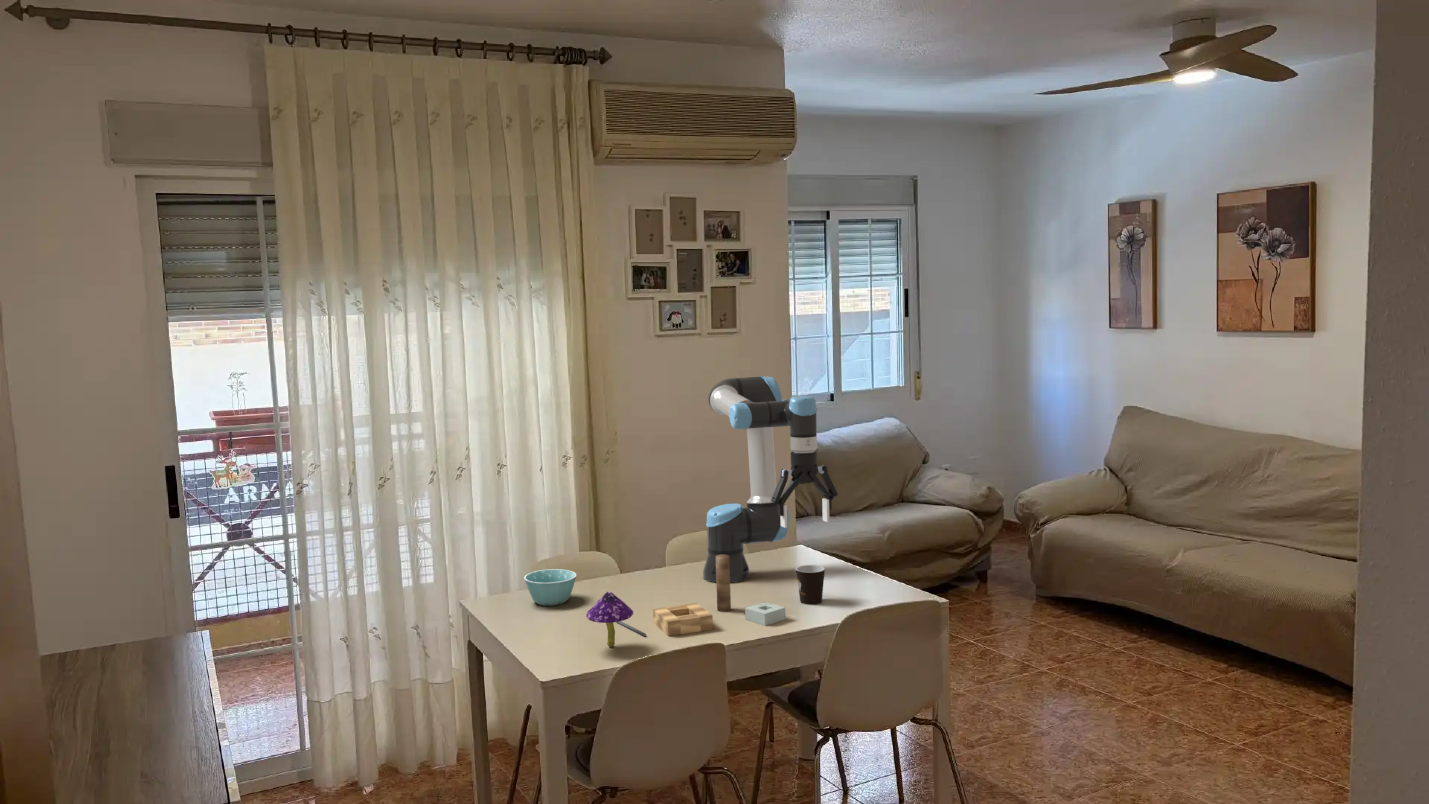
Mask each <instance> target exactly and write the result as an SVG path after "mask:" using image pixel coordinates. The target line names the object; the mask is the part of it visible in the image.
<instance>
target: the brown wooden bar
mask: <svg viewBox="0 0 1429 804" xmlns="http://www.w3.org/2000/svg"><path fill="white" fill-rule="evenodd" d="M715 584H716V610H717V612H723V613H725V612H730V611H731V610H732V608H731V607H732V602H731V599H732V598H731V582H730V564H729V555H717V556H716V582H715Z"/></svg>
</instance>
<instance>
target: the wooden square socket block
mask: <svg viewBox="0 0 1429 804" xmlns="http://www.w3.org/2000/svg"><path fill="white" fill-rule="evenodd" d="M652 616H653V617H652V618H653V624H654V625H655V626H656V627H658V628H659V629H660V630H661V631H662V632H663V633H664V634H665V635H667V636H668V637H672V636H678V635H684V634H691V633H697V632H698V633H699V632H704V631H710V630H713V629H714V623H713V622H714V621H713V620H714V619H713V614H711V613H710V612H709V611H707V610H706V609H705V608H704V607H703V606H701V605H699V604H698V603H697V602H694V603H693V602H692V603H687V604H679V605H673V606H667V607H659V608H653V609H652Z"/></svg>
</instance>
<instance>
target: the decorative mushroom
mask: <svg viewBox="0 0 1429 804" xmlns="http://www.w3.org/2000/svg"><path fill="white" fill-rule="evenodd" d="M585 615H586V616H585V617H586V618H587V619H588V620H589V621H591V622H593V623H599V624H600V623H601V624H605V625H606V629H607V646H608V647H610V648H612V647H614V646H615V645H616V644H615V641H616V629H615V624H614V623H617V622H619V621H622V622H623V621H626V620H629V619H630V618H631V617H632V616H633V615H634V611H633V609H632V608H631V607H630V606H628V605H627V604H626V602H624V601H623V600H622V599H621V598H619V597H618V596H616V595H615V593H613V592H612V591H606V592H605V593H604V594H603V595H602V597H600V598H599V599H598V600H597V601H595V603H594V604H593V606H591V608H590V609H589V610H588V611H587V613H586V614H585Z"/></svg>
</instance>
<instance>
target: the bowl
mask: <svg viewBox="0 0 1429 804" xmlns="http://www.w3.org/2000/svg"><path fill="white" fill-rule="evenodd" d="M577 575H578V574H577V573H576V572H575V571H573V570H568V569H562V568H561V569H560V568H555V569H554V568H552V569H550V568H548V569H542V570H535V571H532V572H529V573H527V574H526V575H525V576H523V577H524V578H523V579H524V582H525V584H526V587H527V590H528V593H529V594H530V596H531V598H532V600H533V602H535V603H536V604H537V605H539V606H546V607H547V606H548V607H550V606H551V607H552V606H558V605H561V604H564V603H566V602H567V601H568V600H569V599H570V598H571V595H572V591H573V588H574V586H575V582H576V579H577Z"/></svg>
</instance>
